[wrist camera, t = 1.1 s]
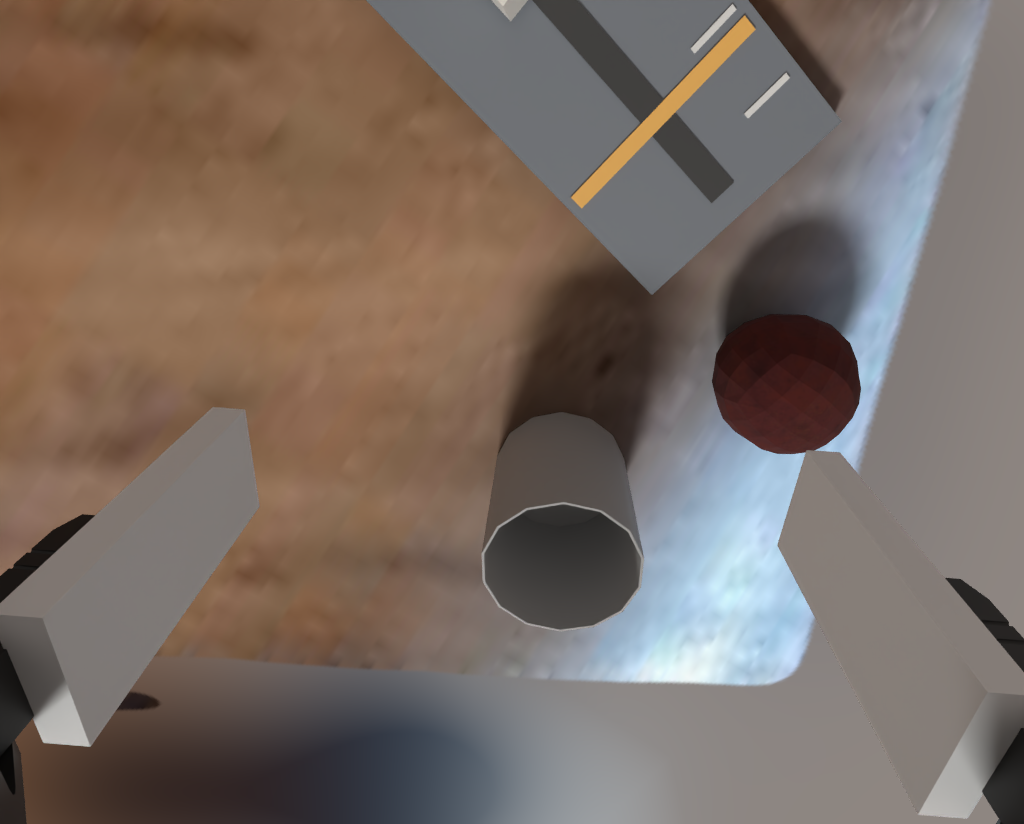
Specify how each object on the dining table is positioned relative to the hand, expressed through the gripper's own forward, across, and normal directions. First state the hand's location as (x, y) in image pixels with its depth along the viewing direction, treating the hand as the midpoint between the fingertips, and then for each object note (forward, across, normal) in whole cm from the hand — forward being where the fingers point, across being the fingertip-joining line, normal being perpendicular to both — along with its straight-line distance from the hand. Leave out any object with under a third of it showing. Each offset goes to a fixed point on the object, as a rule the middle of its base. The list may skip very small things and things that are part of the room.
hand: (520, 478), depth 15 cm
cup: (+23, +3, -14) cm, 27 cm away
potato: (+23, +14, -5) cm, 27 cm away
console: (+23, +2, +11) cm, 25 cm away
